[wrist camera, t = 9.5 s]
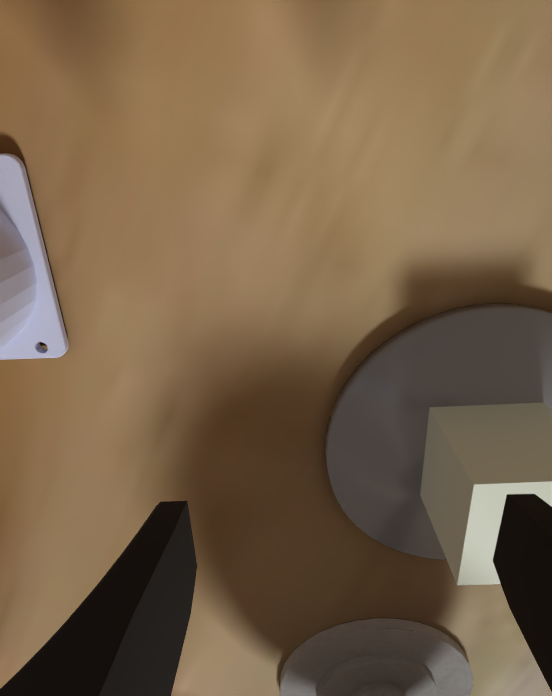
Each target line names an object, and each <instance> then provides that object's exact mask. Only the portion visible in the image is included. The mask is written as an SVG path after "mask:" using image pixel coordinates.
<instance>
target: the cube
mask: <svg viewBox="0 0 552 696" xmlns="http://www.w3.org/2000/svg"><path fill="white" fill-rule="evenodd" d="M507 494H536V495H537V496H538V497H540V498H541V499H542V500H544V501H545V502H546V503H547V504H549V505H550V506H551V507H552V411H551V410H550V409H549V408H548V407H547V406H546V405H545V404H544V403H543V402H542V403H518V404H495V405H472V406H448V407H429V416H428V426H427V435H426V445H425V454H424V464H423V473H422V482H421V492H420V496H421V498H422V501H423V503H424V506H425V508H426V510H427V513H428V515H429V518H430V520H431V523H432V525H433V528H434V530H435V532H436V535H437V537H438V540H439V542H440V545H441V547H442V549H443V552H444V554H445V557H446V559H447V562H448V564H449V567H450V569H451V571H452V574H453V576H454V579H455V581H456V584H457V585H482V584H501V583H500V580H499V577H498V575H497V572H496V569H495V566H494V563H493V557H494V552H495V547H496V543H497V538H498V533H499V529H500V524H501V519H502V515H503V510H504V505H505V501H506V496H507Z"/></svg>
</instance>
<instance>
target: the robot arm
mask: <svg viewBox="0 0 552 696" xmlns="http://www.w3.org/2000/svg"><path fill="white" fill-rule="evenodd" d="M39 342H43V343H45V344H46V345H47V347H48V350H47V349H43V348H42V347H41V346H40V344H39ZM68 348H69V345H68V340H67V335H66V331H65V327H64V323H63V319H62V315H61V311H60V307H59V303H58V299H57V295H56V291H55V287H54V283H53V279H52V275H51V271H50V266H49V262H48V258H47V254H46V250H45V246H44V242H43V238H42V234H41V230H40V226H39V222H38V218H37V214H36V210H35V206H34V202H33V197H32V193H31V189H30V185H29V181H28V177H27V173H26V169H25V166H24V164H23V162H22V161H21V160H20V158H19V157H17V156H15V155H14V154H9V153H3V154H0V360H2V359H30V358H57V357H61V356H62V355H64V354H65V353H66V352H67V350H68ZM493 563H494V566H495V569H496V572H497V575H498V577H499V580H500V583H501V586H502V589H503V591H504V594H505V596H506V599H507V602H508V604H509V607H510V609H511V611H512V613H513V615H514V617H515V620H516V622H517V624H518V626H519V628H520V630H521V632H522V634H523V636H524V638H525V640H526V642H527V644H528V646H529V648H530V650H531V652H532V654H533V656H534V658H535V660H536V662H537V664H538V666H539V668H540V670H541V672H542V674H543V676H544V678H545V679H546V681H547V683H548V685H549V687H550V689H551V691H552V507H551V506H550V505H549V504H547V503H546V502H545V501H544V500H542V499H541V498H540V497H538V496H537V495H536V494H507V496H506V501H505V505H504V510H503V515H502V519H501V524H500V529H499V533H498V538H497V543H496V547H495V552H494V557H493ZM196 570H197V563H196V556H195V549H194V543H193V536H192V530H191V523H190V516H189V510H188V503H187V501H170V502H160V503H159V504H158V505H157V506H156V507H155V509H154V510H153V512H152V513H151V514H150V516H149V517H148V519H147V520H146V521H145V523H144V524H143V526H142V527H141V528H140V530H139V531H138V533H137V534H136V535H135V537H134V538H133V539H132V541H131V542H130V543H129V545H128V546H127V548H126V549H125V550H124V552H123V553H122V554H121V555H120V557H119V558H118V559H117V561H116V562H115V563H114V564H113V566H112V567H111V568H110V569H109V571H108V572H107V573H106V575H105V576H104V577H103V578H102V580H101V581H100V582H99V583H98V585H97V586H96V587H95V588H94V589H93V591H92V592H91V593H90V594H89V595H88V596H87V598H86V599H85V600H84V601H83V602H82V603H81V605H80V606H79V607H78V608H77V609H76V610H75V612H74V613H73V614H72V615H71V616H70V617H69V619H68V620H67V621H66V622H65V623H64V624H63V625H62V626H61V628H60V629H59V630H58V631H57V632H56V633H55V634H54V635H53V636H52V637H51V638H50V640H49V641H48V642H47V643H46V644H45V645H44V646H43V647H42V648H41V649H40V650H39V651H38V652H37V653H36V654H35V655H34V656H33V657H32V658H31V659H30V660H29V661H28V662H27V663H26V664H25V665H24V666H23V668H22V669H21V670H20V671H19V672H18V673H16V674H15V675H14V676H13V677H12V678H11V679H10V680H9V681H8V682H7V683H6V684H5V685H4V686H3V687H2V688H1V689H0V696H171V692H172V688H173V684H174V680H175V676H176V672H177V668H178V664H179V660H180V656H181V651H182V647H183V643H184V639H185V635H186V631H187V626H188V622H189V618H190V614H191V607H192V600H193V593H194V585H195V577H196Z"/></svg>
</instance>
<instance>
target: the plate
mask: <svg viewBox="0 0 552 696" xmlns="http://www.w3.org/2000/svg"><path fill="white" fill-rule="evenodd" d="M542 402H543V403H544V404H545V405H546V406H547V407H548V408H549V409H550V410H551V411H552V312H551V311H547V310H544V309H541V308H537V307H532V306H525V305H519V304H497V303H493V304H483V305H473V306H468V307H463V308H458V309H454V310H449V311H446V312H444V313H441V314H438V315H435V316H432V317H429V318H427V319H425V320H422V321H420V322H418V323H416V324H414V325H412V326H410V327H408V328H406V329H404V330H403V331H401V332H400V333H398V334H396V335H395V336H393V337H392V338H390V339H389V340H387V341H386V342H385V343H384V344H382V345H381V346H380V347H379V348H377V349H376V350H375V351H374V352H372V353H371V354H370V355H369V356H368V357H367V358H366V359H365V360H364V361H363V362H362V363H361V364H360V365H359V366H358V368H357V369H356V370H355V372H354V373H353V374H352V376H351V377H350V378H349V379H348V381H347V382H346V384H345V385H344V387H343V389H342V391H341V392H340V394H339V396H338V398H337V400H336V402H335V405H334V407H333V409H332V412H331V414H330V418H329V422H328V427H327V431H326V442H325V452H326V464H327V470H328V475H329V479H330V483H331V487H332V490H333V492H334V494H335V497H336V499H337V501H338V503H339V504H340V506H341V508H342V509H343V511H344V512H345V514H346V515H347V516H348V517H349V518H350V520H351V521H352V522H353V523H354V524H355V525H356V526H357V527H358V528H360V529H361V530H362V531H363V532H364V533H365V534H367V535H368V536H370V537H371V538H373V539H374V540H376V541H378V542H379V543H381V544H383V545H385V546H387V547H390V548H392V549H394V550H397V551H400V552H403V553H406V554H409V555H414V556H418V557H423V558H430V559H438V560H447V559H446V557H445V554H444V552H443V549H442V547H441V545H440V542H439V540H438V537H437V535H436V532H435V530H434V528H433V525H432V523H431V520H430V518H429V515H428V513H427V510H426V508H425V506H424V503H423V501H422V498H421V496H420V492H421V482H422V473H423V464H424V454H425V445H426V435H427V426H428V416H429V407H448V406H472V405H495V404H518V403H542Z"/></svg>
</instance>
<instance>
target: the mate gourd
mask: <svg viewBox="0 0 552 696" xmlns="http://www.w3.org/2000/svg"><path fill="white" fill-rule="evenodd" d="M472 688H473V675H472V671H471V668H470V665H469V662H468V660H467V657H466V654H465V653H464V651H463V650H462V649H461V647H460V646H459V644H458V643H457V642H455V641H454V640H453V639H452V638H451V637H449V636H448V635H447V634H445V633H443V632H441V631H439V630H437V629H436V628H434V627H431V626H428V625H425V624H422V623H419V622H415V621H409V620H403V619H392V618H374V619H365V620H356V621H352V622H348V623H344V624H340V625H336V626H334V627H331V628H329V629H326V630H324V631H321V632H319V633H317V634H316V635H314V636H312V637H311V638H309V639H307V640H305V641H304V642H303V643H302V644H301V645H300V646H298V647H297V648H296V649H295V650H294V651H293V652H292V653H291V655H290V656H289V657H288V659H287V660H286V661H285V664H284V666H283V669H282V671H281V676H280V696H470V694H471V691H472Z"/></svg>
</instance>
